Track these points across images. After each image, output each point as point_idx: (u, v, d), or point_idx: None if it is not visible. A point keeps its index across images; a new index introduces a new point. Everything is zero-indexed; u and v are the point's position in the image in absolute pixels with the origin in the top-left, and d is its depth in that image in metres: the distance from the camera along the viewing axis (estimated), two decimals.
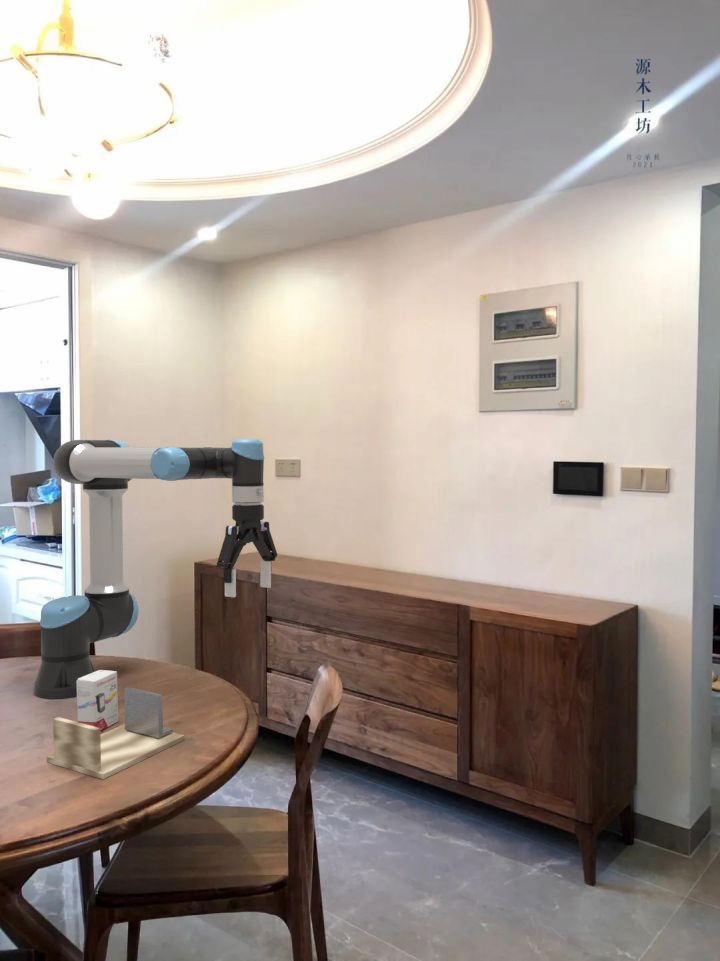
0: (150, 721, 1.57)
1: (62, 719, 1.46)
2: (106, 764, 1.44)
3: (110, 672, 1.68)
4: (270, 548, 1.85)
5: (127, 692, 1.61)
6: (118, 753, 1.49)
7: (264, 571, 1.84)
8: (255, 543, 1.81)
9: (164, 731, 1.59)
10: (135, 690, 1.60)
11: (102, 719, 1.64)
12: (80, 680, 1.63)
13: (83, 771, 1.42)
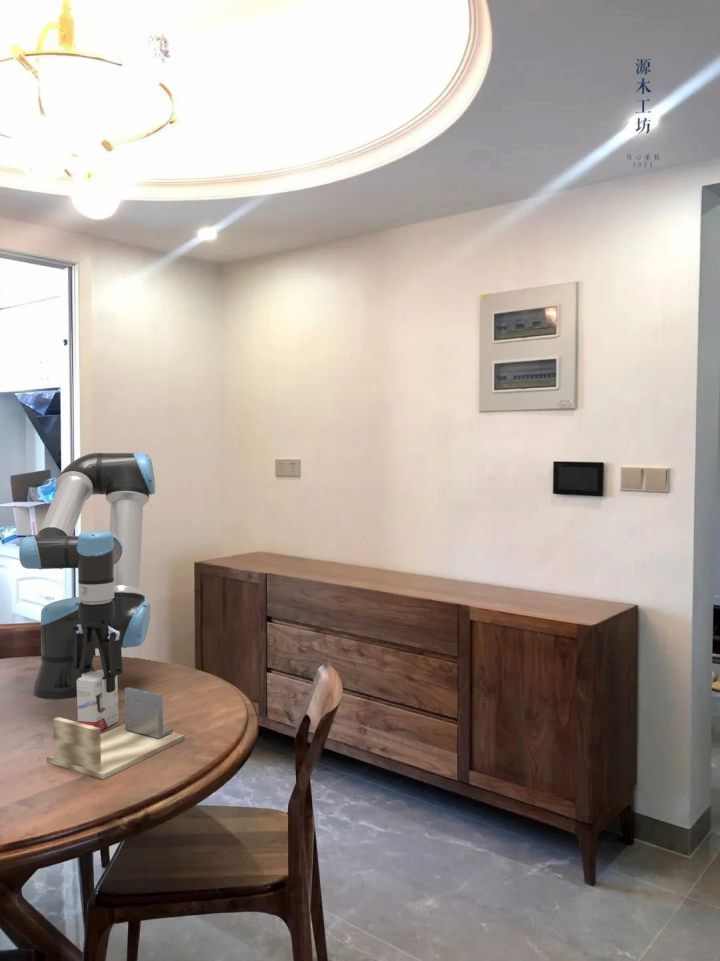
0: (150, 721, 1.57)
1: (62, 719, 1.46)
2: (106, 764, 1.44)
3: None
4: None
5: (127, 692, 1.61)
6: (118, 753, 1.49)
7: None
8: None
9: (164, 731, 1.59)
10: (135, 690, 1.60)
11: (102, 719, 1.64)
12: (80, 680, 1.63)
13: (83, 771, 1.42)
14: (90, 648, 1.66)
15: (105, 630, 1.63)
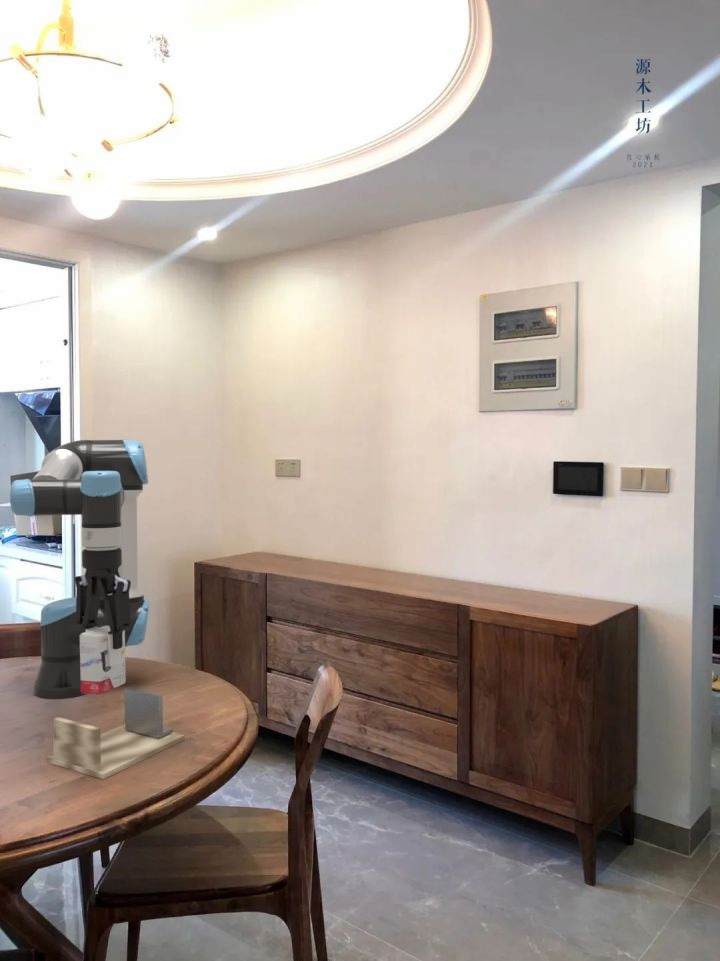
0: (150, 721, 1.57)
1: (62, 719, 1.46)
2: (106, 764, 1.44)
3: None
4: None
5: (127, 692, 1.61)
6: (118, 753, 1.49)
7: None
8: None
9: (164, 731, 1.59)
10: (135, 690, 1.60)
11: (108, 679, 1.47)
12: (84, 635, 1.46)
13: (83, 771, 1.42)
14: (95, 601, 1.50)
15: (111, 579, 1.46)
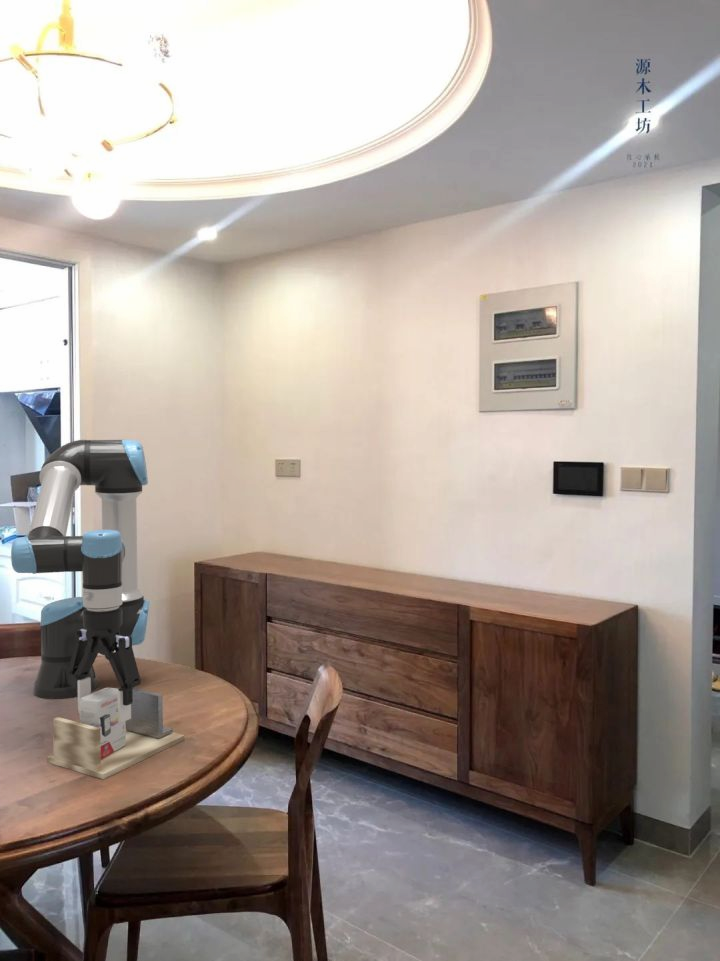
0: (150, 721, 1.57)
1: (62, 719, 1.46)
2: (106, 764, 1.44)
3: (117, 690, 1.52)
4: None
5: None
6: (118, 753, 1.49)
7: None
8: None
9: (164, 731, 1.59)
10: (135, 690, 1.60)
11: (107, 743, 1.48)
12: (83, 700, 1.47)
13: (83, 771, 1.42)
14: (91, 657, 1.51)
15: (112, 639, 1.46)
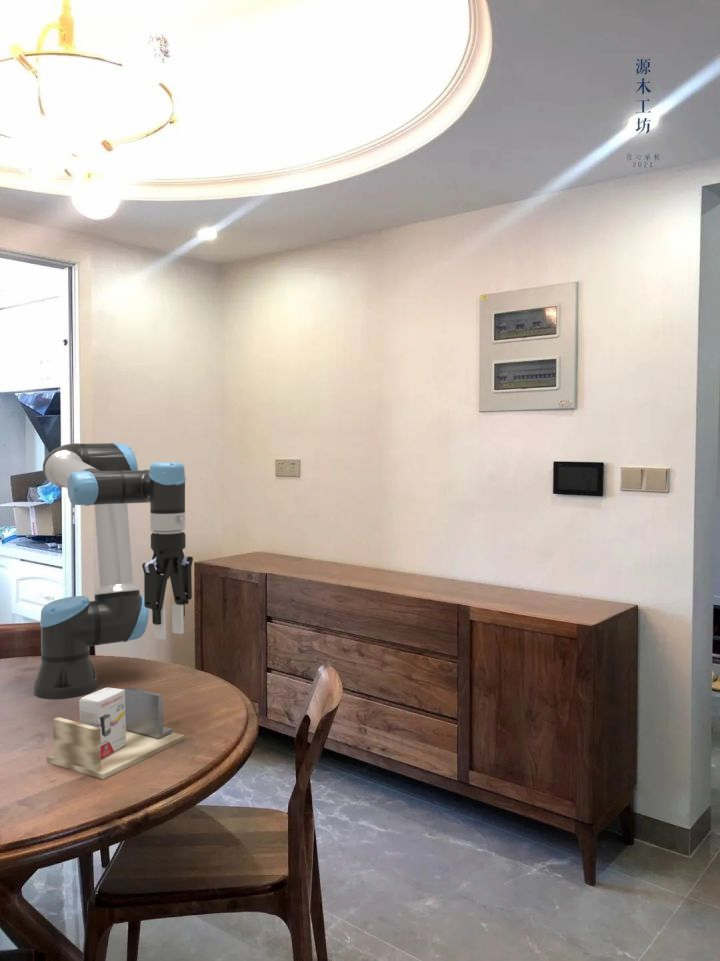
0: (150, 721, 1.57)
1: (62, 719, 1.46)
2: (106, 764, 1.44)
3: (117, 690, 1.52)
4: (186, 587, 1.69)
5: (127, 692, 1.61)
6: (118, 753, 1.49)
7: (176, 615, 1.67)
8: (172, 577, 1.67)
9: (164, 731, 1.59)
10: (135, 690, 1.60)
11: (107, 743, 1.48)
12: (83, 700, 1.47)
13: (83, 771, 1.42)
14: None
15: (183, 556, 1.68)
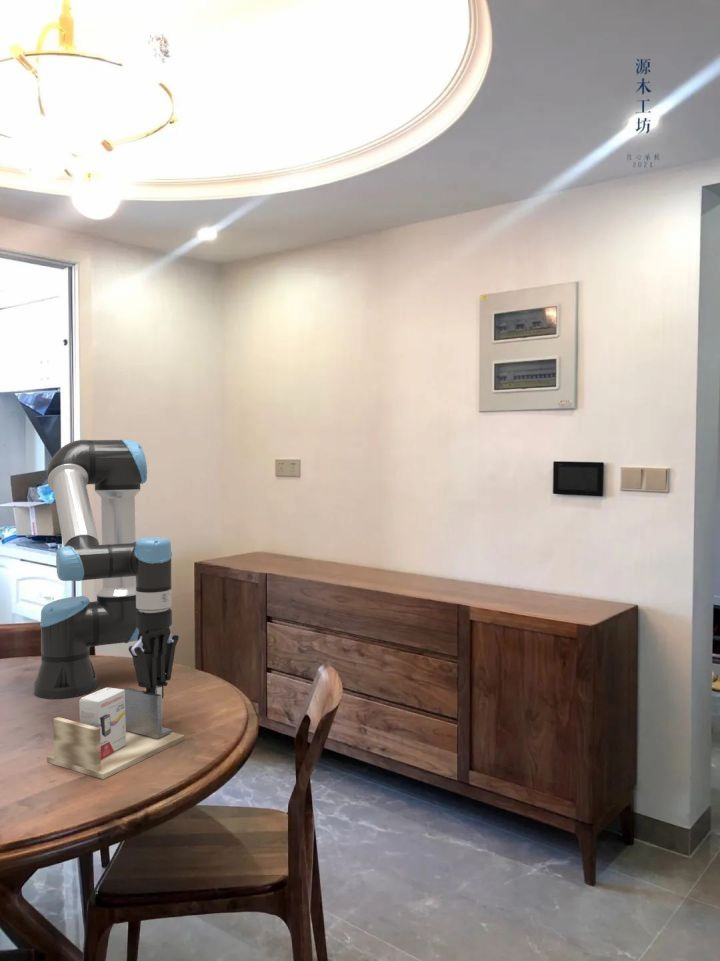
0: (149, 721, 1.57)
1: (62, 719, 1.46)
2: (106, 764, 1.44)
3: (117, 690, 1.52)
4: (166, 667, 1.64)
5: (126, 692, 1.60)
6: (118, 753, 1.49)
7: None
8: None
9: (163, 731, 1.58)
10: (134, 690, 1.60)
11: (107, 743, 1.48)
12: (83, 700, 1.47)
13: (83, 771, 1.42)
14: None
15: (170, 634, 1.64)
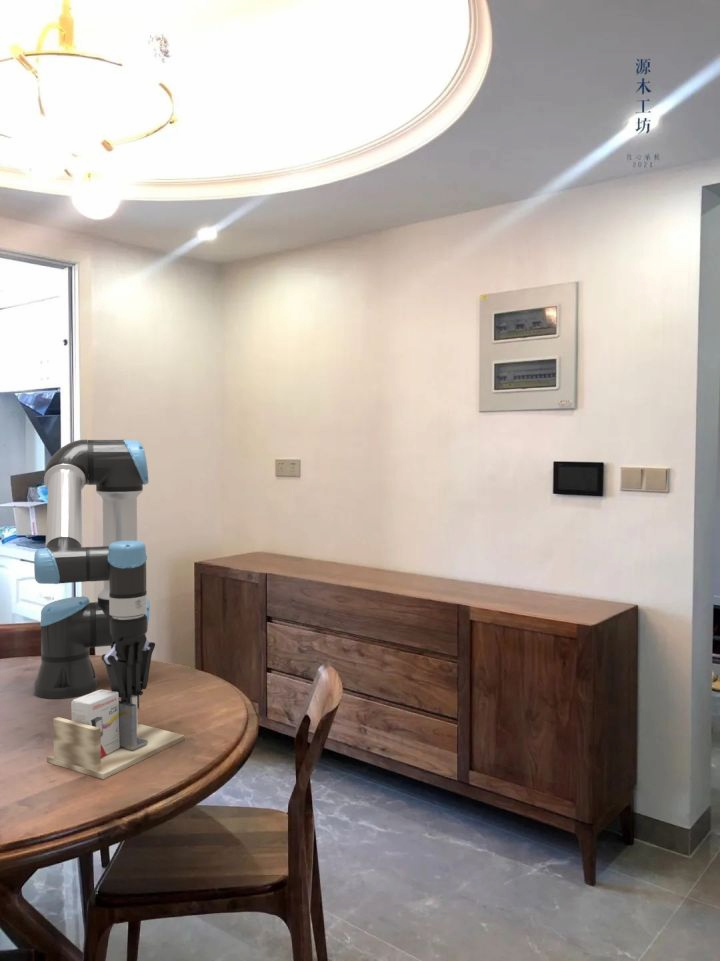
0: (123, 732, 1.51)
1: (62, 719, 1.46)
2: (106, 764, 1.44)
3: (110, 693, 1.50)
4: (142, 675, 1.58)
5: None
6: (118, 753, 1.49)
7: None
8: None
9: (138, 743, 1.52)
10: None
11: None
12: (75, 702, 1.46)
13: (83, 771, 1.42)
14: None
15: (145, 641, 1.58)
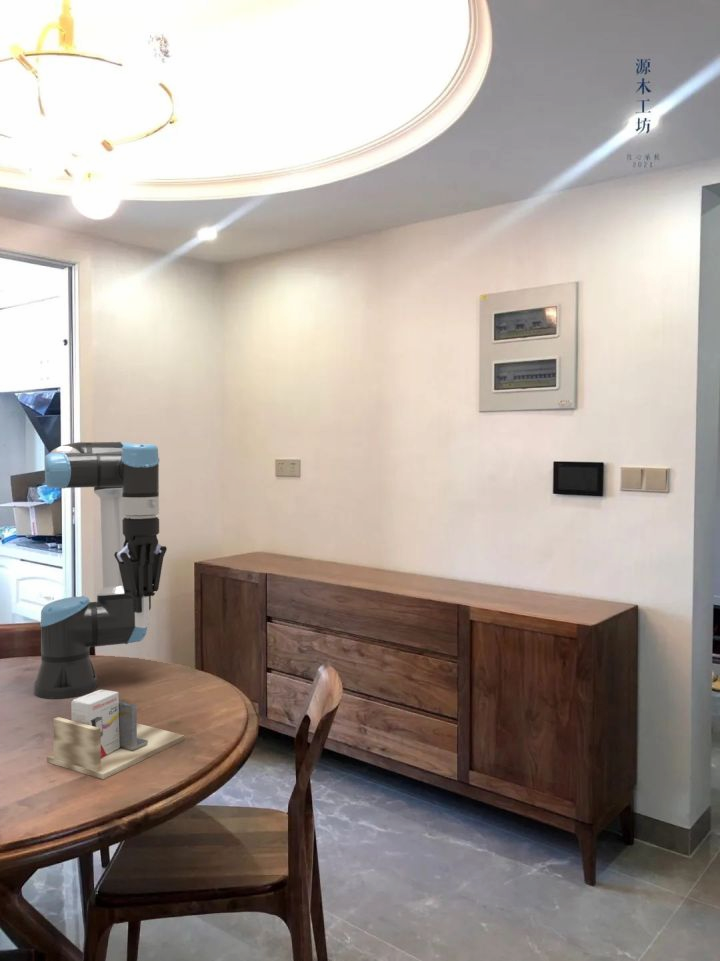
0: (124, 732, 1.51)
1: (62, 719, 1.46)
2: (106, 764, 1.44)
3: (110, 693, 1.50)
4: (154, 577, 1.60)
5: None
6: (118, 753, 1.49)
7: None
8: None
9: (138, 743, 1.52)
10: None
11: None
12: (75, 702, 1.46)
13: (83, 771, 1.42)
14: None
15: (157, 544, 1.60)
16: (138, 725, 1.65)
